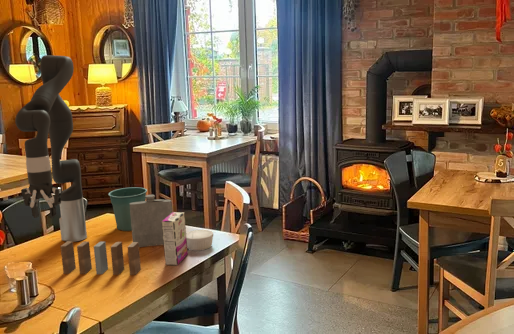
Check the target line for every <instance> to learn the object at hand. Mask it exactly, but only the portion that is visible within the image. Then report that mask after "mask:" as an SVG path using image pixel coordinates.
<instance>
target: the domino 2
mask: <svg viewBox="0 0 514 334" xmlns="http://www.w3.org/2000/svg"><path fill="white" fill-rule="evenodd" d="M90 246H91V245H90V241H86V240H85V241H83V242H80V243H79V244H78V245H77V246H76V249H77V258H78V259H77V260H78V268H79V275H87V273H88V272H89V271H91V270H92V269H93V268H92V256H91V248H90Z"/></svg>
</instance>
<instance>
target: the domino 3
mask: <svg viewBox="0 0 514 334" xmlns="http://www.w3.org/2000/svg"><path fill="white" fill-rule="evenodd" d="M106 243H107V242H106V241H98V243H96V244H95V245H94V246H93V253H94V263H95V272H96V275H103V274H104V273H105V272H106V271H107V270H108V269H109V264H108V254H107V252H108V251H107V244H106Z"/></svg>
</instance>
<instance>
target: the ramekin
mask: <svg viewBox="0 0 514 334" xmlns="http://www.w3.org/2000/svg"><path fill="white" fill-rule="evenodd" d="M213 237H214V232H213V231H212V230H209V229H196V230H190V231H188V232H187V231H186V239H187V250H191V251H194V252H195V251H196V252H197V251H199V252H200V251H205V249H206V250H208V249H209V248H211V247H212V245H213Z"/></svg>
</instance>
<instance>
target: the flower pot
mask: <svg viewBox="0 0 514 334" xmlns="http://www.w3.org/2000/svg"><path fill="white" fill-rule="evenodd" d="M147 192H148V189H147V188H145V187H135V186H134V187H132V186H131V187H123V188H118V189H114V190H112V191H110V192H108V196H109V198H110V203H111V204H112V210H113V213H114V214H113V216H114V219H115V224H116V228H117V230H118V231H123V232H132V227H131V215H130V203H133V202H141V201H146V198H145V196H146V195H147Z"/></svg>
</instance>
